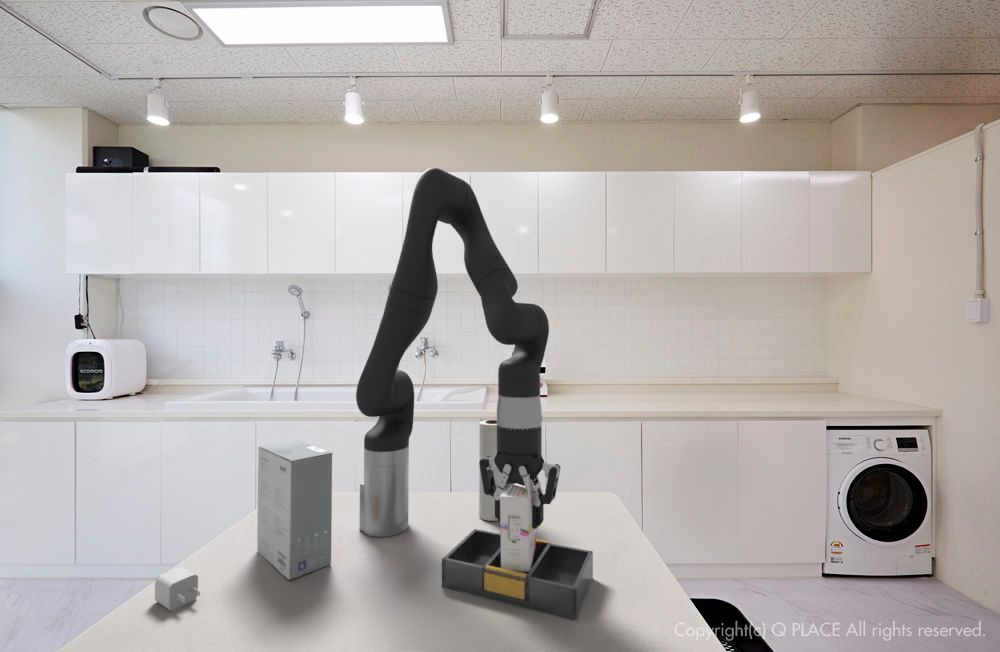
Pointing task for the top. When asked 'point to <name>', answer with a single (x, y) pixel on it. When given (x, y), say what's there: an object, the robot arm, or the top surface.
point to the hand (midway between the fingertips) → (518, 523)
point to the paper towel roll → (490, 449)
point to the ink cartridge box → (517, 528)
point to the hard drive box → (294, 507)
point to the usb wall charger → (176, 588)
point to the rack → (520, 575)
